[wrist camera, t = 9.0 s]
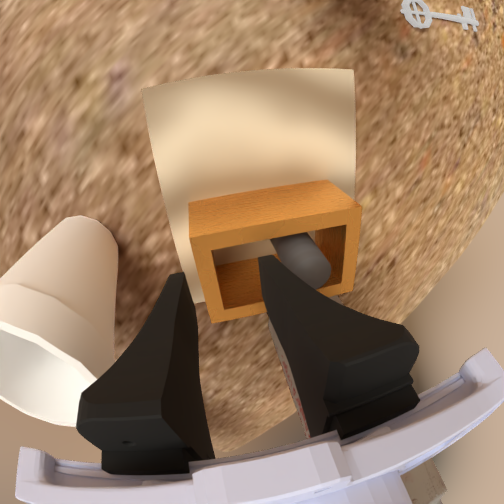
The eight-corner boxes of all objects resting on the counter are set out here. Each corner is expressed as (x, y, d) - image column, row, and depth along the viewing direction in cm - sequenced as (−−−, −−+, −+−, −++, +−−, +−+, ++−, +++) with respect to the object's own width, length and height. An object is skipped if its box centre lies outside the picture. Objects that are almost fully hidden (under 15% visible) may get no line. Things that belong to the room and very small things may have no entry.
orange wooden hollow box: (205, 278, 23) (211, 323, 19) (188, 202, 19) (188, 238, 15) (325, 253, 24) (352, 290, 20) (327, 179, 20) (362, 206, 16)
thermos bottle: (275, 349, 32) (357, 583, 8) (260, 301, 27) (368, 606, 4) (340, 326, 32) (447, 540, 9) (338, 275, 28) (489, 539, 4)
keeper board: (341, 260, 27) (381, 314, 20) (191, 292, 25) (197, 360, 19) (343, 69, 17) (409, 71, 11) (144, 89, 16) (117, 89, 10)
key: (392, -6, 14) (402, 28, 16) (399, -8, 13) (410, 27, 15) (470, 9, 14) (476, 36, 16) (476, 9, 13) (483, 36, 15)
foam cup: (31, 193, 17) (-66, 301, 6) (138, 200, 20) (93, 335, 9) (46, 290, 22) (0, 408, 11) (136, 300, 24) (123, 435, 14)
